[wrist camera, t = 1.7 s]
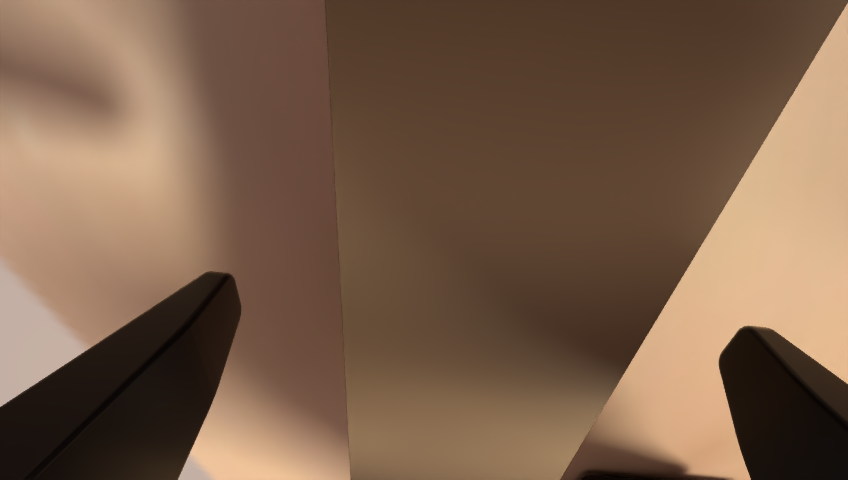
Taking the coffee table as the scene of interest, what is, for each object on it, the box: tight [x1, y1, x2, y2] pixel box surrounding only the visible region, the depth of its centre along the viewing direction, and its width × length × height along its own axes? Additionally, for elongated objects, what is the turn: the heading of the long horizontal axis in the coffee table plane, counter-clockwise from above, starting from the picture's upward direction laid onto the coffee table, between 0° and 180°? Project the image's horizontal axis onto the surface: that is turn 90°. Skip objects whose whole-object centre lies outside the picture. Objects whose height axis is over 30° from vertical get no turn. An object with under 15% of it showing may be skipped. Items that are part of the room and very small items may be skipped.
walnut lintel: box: [325, 0, 848, 480], centre depth 9 cm, size 14×4×4 cm, turn 176°
